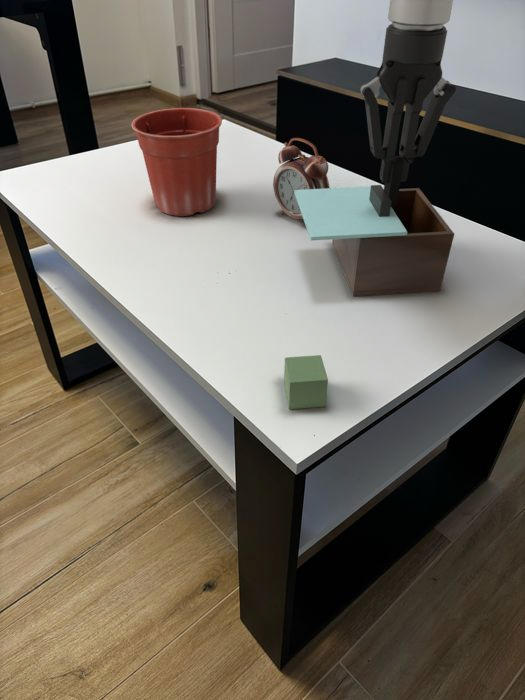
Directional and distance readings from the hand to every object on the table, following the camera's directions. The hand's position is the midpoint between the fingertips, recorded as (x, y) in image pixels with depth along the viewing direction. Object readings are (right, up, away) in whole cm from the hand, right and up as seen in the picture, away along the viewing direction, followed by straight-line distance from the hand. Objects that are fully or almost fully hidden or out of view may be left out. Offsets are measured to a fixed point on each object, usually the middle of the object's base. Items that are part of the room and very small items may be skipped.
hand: (389, 201), depth 83 cm
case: (+1, -9, +8) cm, 12 cm away
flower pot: (-35, +7, +26) cm, 44 cm away
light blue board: (-6, -2, 0) cm, 7 cm away
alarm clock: (-12, +2, +21) cm, 25 cm away
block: (-14, -28, -16) cm, 35 cm away
